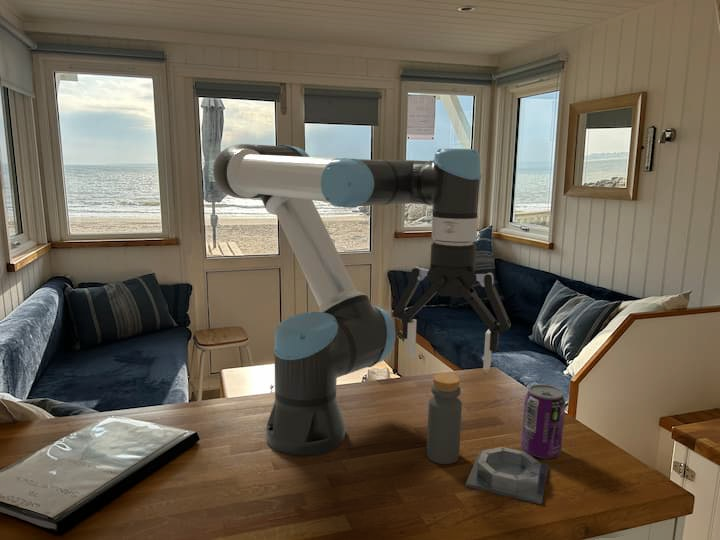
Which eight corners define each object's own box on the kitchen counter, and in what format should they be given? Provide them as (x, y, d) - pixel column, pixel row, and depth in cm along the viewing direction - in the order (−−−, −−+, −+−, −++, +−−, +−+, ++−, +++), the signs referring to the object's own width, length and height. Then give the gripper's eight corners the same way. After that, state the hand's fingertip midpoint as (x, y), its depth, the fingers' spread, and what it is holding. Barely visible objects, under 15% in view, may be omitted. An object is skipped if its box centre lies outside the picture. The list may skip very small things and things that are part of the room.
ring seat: (465, 486, 93) (466, 472, 92) (480, 452, 103) (480, 439, 103) (541, 504, 88) (542, 489, 88) (548, 467, 99) (549, 453, 98)
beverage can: (563, 463, 100) (569, 400, 98) (522, 458, 102) (527, 396, 99) (557, 444, 107) (563, 385, 105) (519, 440, 109) (524, 381, 106)
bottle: (461, 464, 99) (465, 384, 96) (428, 464, 99) (431, 384, 96) (456, 448, 105) (460, 372, 102) (424, 447, 105) (428, 371, 102)
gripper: (376, 239, 96) (374, 358, 100) (527, 250, 87) (518, 380, 91) (391, 234, 103) (388, 345, 107) (532, 244, 93) (523, 365, 97)
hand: (447, 362), depth 99 cm, fingers open, 13 cm apart
